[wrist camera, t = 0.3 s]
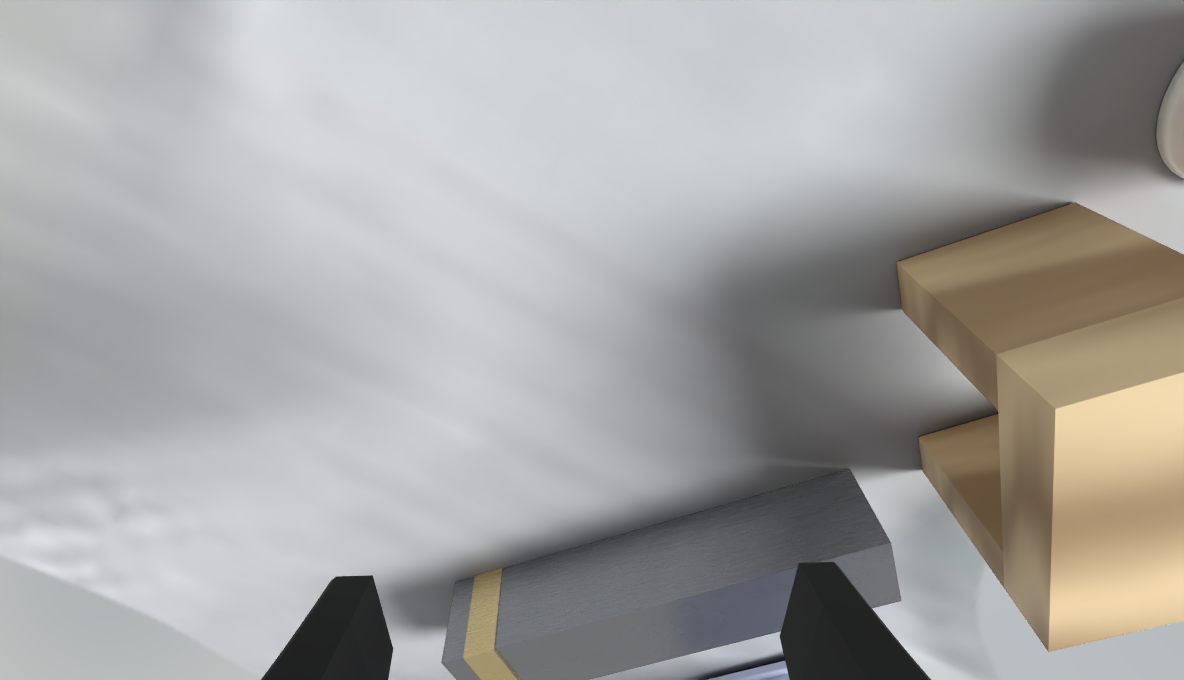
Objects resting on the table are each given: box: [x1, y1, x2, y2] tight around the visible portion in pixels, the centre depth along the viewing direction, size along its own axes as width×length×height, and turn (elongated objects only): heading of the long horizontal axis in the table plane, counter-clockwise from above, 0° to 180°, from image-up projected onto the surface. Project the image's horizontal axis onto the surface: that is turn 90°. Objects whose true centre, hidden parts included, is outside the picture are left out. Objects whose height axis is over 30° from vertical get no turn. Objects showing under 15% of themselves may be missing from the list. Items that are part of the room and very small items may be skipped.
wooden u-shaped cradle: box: [896, 203, 1184, 652], centre depth 17 cm, size 9×5×7 cm, turn 20°
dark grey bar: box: [441, 469, 901, 680], centre depth 23 cm, size 3×16×4 cm, turn 110°
